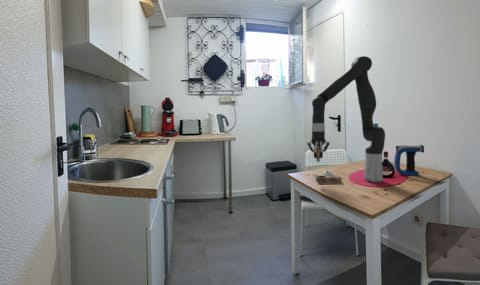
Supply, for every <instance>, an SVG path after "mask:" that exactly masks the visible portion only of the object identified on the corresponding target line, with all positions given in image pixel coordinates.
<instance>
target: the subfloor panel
mask: <svg viewBox="0 0 480 285" xmlns="http://www.w3.org/2000/svg"><path fill="white" fill-rule="evenodd" d="M316 175H323V173H311V176H312V177H313V178H314V180H315V181H316Z"/></svg>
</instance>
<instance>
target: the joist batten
mask: <svg viewBox="0 0 480 285" xmlns="http://www.w3.org/2000/svg"><path fill="white" fill-rule="evenodd" d="M342 180H343V178H342V176H341V175H337V174H336V175H334V174H333V175H316V180H315V182H317V183H320V184H321V183H322V184H324V183H327V184H328V183H331V184H332V183H335V184H338V183H339V184H340V183H342Z"/></svg>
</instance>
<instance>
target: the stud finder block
mask: <svg viewBox="0 0 480 285" xmlns="http://www.w3.org/2000/svg"><path fill="white" fill-rule="evenodd" d="M322 174H323V175H334V172H332V170H322Z"/></svg>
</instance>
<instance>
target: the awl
mask: <svg viewBox="0 0 480 285" xmlns="http://www.w3.org/2000/svg"><path fill="white" fill-rule="evenodd" d="M316 162H318V163H320V162H321V158H320V147H317V150H316Z"/></svg>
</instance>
